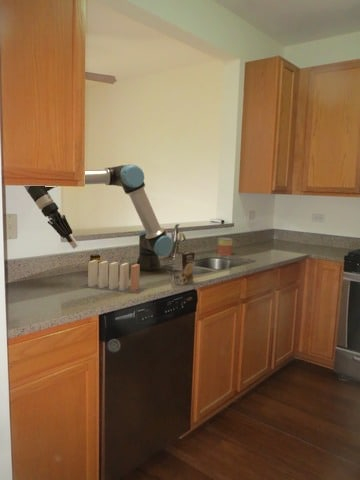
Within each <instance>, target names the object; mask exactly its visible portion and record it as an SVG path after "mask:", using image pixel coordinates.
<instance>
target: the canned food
mask: <svg viewBox="0 0 360 480" xmlns="http://www.w3.org/2000/svg"><path fill="white" fill-rule="evenodd" d="M233 242H234V239H233V238H230V237H218V238H217V247H216V248H217V250H216V251H217V252H216V255H217V254H221V255H220V256H222V255H231V254H232V255H233ZM232 255H231V256H232Z"/></svg>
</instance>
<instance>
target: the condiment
mask: <svg viewBox="0 0 360 480" xmlns="http://www.w3.org/2000/svg"><path fill="white" fill-rule="evenodd" d="M93 260H98V270H99V263H100V262H102V260H101V255H100V254H97V253H96V254H90V255H89V261H88V262H90V261H93Z"/></svg>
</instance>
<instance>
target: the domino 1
mask: <svg viewBox="0 0 360 480" xmlns="http://www.w3.org/2000/svg"><path fill="white" fill-rule="evenodd" d="M89 261H90V260H89ZM89 261H88V262H87V263H88V265H87V284H88V287H93V286H95V285H97V284H98V260H93V261H90V262H89Z"/></svg>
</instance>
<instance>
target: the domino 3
mask: <svg viewBox="0 0 360 480" xmlns="http://www.w3.org/2000/svg"><path fill="white" fill-rule="evenodd" d="M108 284H109V289H114V288H116V287H118V285H119V261H113V262H110V263H108Z"/></svg>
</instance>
